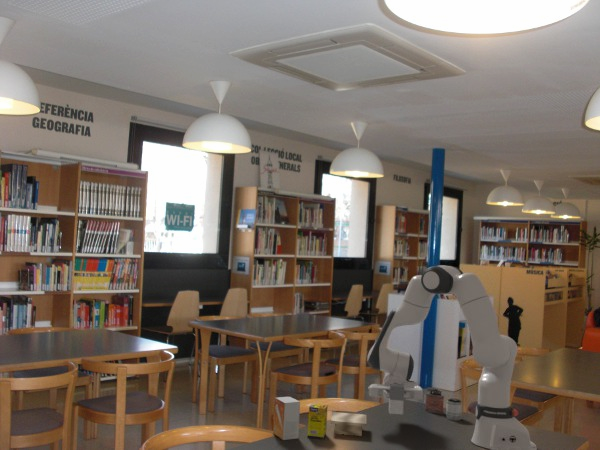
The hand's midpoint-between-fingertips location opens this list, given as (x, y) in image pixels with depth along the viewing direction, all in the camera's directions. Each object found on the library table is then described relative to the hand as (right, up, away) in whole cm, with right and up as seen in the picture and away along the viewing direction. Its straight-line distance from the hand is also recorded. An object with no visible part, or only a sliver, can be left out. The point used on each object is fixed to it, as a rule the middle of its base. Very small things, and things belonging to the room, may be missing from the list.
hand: (396, 396), depth 239 cm
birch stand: (-18, -14, +2) cm, 22 cm away
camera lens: (+28, -17, +30) cm, 44 cm away
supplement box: (-30, -13, -7) cm, 33 cm away
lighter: (+22, -17, +39) cm, 48 cm away
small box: (-41, -12, -9) cm, 43 cm away
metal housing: (0, -6, +1) cm, 6 cm away
